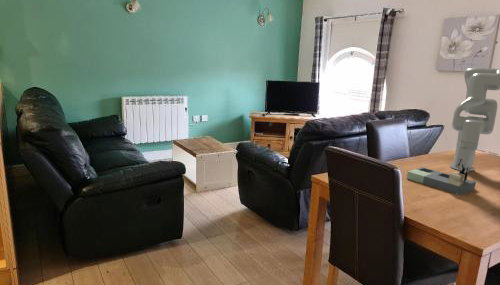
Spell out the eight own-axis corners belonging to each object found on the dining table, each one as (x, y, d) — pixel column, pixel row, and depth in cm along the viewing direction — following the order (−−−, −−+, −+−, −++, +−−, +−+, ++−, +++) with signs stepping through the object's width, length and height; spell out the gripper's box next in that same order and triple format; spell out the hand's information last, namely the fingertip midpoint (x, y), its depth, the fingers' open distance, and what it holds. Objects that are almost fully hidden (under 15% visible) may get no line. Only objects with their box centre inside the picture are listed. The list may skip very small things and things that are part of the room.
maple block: (452, 181, 181) (454, 171, 180) (463, 184, 177) (465, 174, 176) (448, 183, 178) (449, 173, 177) (458, 186, 174) (460, 176, 173)
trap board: (420, 173, 204) (421, 167, 203) (474, 189, 183) (475, 181, 182) (406, 178, 196) (407, 171, 195) (461, 195, 174) (462, 187, 173)
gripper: (467, 141, 185) (461, 175, 190) (453, 145, 177) (447, 180, 181) (483, 144, 180) (476, 179, 184) (470, 148, 171) (463, 185, 175)
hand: (462, 179), depth 183 cm, fingers closed
